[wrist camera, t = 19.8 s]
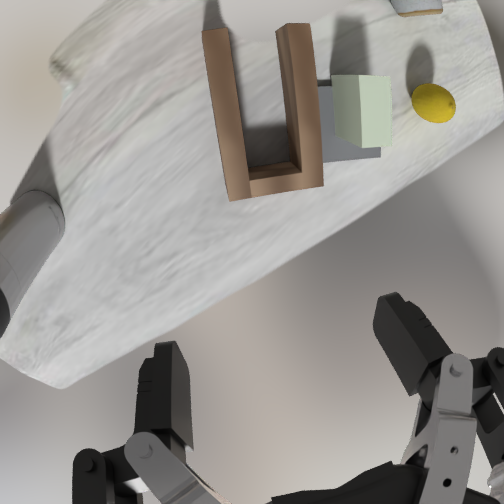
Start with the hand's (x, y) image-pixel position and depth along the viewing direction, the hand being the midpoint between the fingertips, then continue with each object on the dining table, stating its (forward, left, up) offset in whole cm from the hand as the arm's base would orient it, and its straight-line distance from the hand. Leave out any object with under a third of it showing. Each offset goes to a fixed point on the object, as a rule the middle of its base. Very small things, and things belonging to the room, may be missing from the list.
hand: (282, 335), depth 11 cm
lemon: (+28, +6, -28) cm, 40 cm away
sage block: (+16, +5, -27) cm, 32 cm away
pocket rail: (+5, +6, -28) cm, 29 cm away
